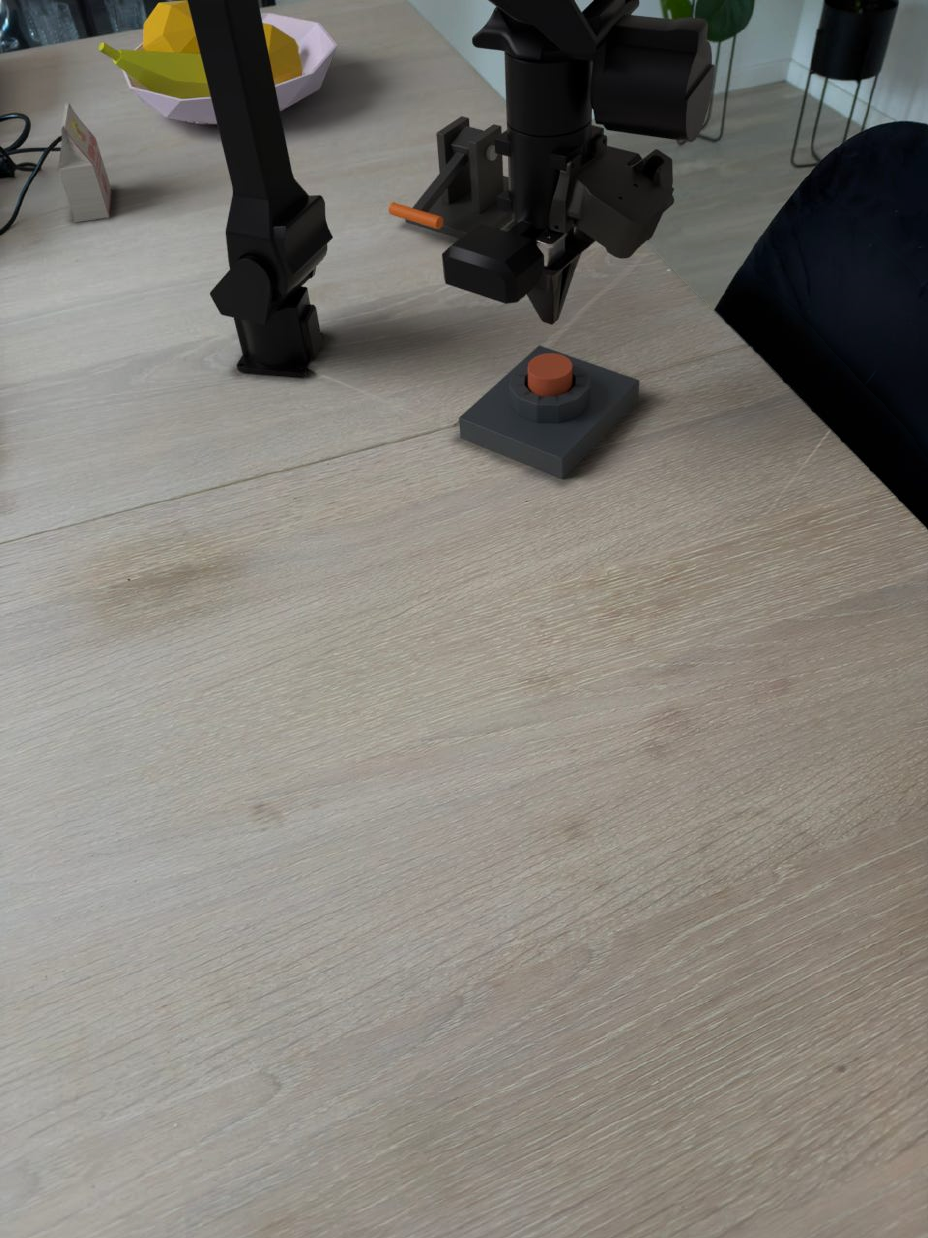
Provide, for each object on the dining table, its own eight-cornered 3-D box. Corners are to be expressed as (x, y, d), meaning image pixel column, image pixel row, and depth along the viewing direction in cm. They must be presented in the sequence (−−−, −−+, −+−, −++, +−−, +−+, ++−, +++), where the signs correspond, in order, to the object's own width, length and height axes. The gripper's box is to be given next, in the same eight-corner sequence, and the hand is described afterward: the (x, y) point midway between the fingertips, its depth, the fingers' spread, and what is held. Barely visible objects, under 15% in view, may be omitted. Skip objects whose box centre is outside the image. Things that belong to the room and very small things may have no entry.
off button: (556, 402, 87) (556, 384, 86) (519, 388, 89) (518, 370, 88) (580, 379, 89) (581, 361, 88) (543, 365, 91) (543, 347, 89)
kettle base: (475, 247, 111) (470, 163, 105) (405, 226, 115) (397, 143, 109) (539, 197, 117) (539, 114, 111) (471, 178, 121) (467, 97, 115)
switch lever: (439, 236, 108) (433, 217, 106) (392, 221, 111) (385, 202, 108) (503, 153, 111) (499, 133, 109) (456, 140, 114) (450, 121, 112)
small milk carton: (75, 222, 120) (44, 130, 113) (79, 193, 125) (49, 104, 117) (109, 217, 120) (80, 126, 113) (111, 188, 125) (83, 99, 118)
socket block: (562, 480, 86) (562, 440, 84) (460, 438, 91) (457, 399, 88) (638, 401, 93) (641, 361, 90) (539, 365, 97) (538, 326, 94)
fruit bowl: (308, 45, 150) (293, -48, 142) (365, 121, 133) (353, 21, 124) (104, 86, 145) (77, -7, 136) (137, 172, 127) (107, 71, 119)
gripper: (578, 206, 65) (574, 418, 76) (723, 88, 75) (700, 292, 86) (428, 165, 70) (446, 370, 81) (583, 59, 79) (579, 256, 91)
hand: (550, 321), depth 85 cm, fingers closed
